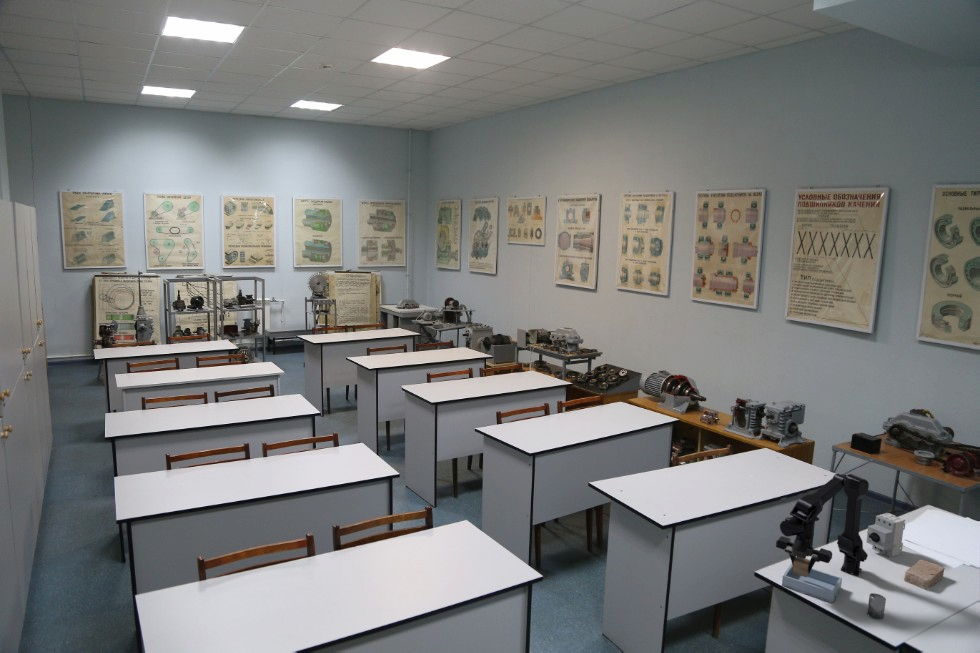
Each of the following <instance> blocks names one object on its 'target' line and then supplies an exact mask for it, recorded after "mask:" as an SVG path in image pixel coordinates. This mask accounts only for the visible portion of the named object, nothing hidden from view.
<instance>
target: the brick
mask: <svg viewBox="0 0 980 653" xmlns="http://www.w3.org/2000/svg"><path fill="white" fill-rule="evenodd" d="M944 574H945V567H943V566H941V565H939V564H937V563H933V562H930V561H927V560H924V559H919V560H917V563H915V564H914V565H912V566H910V567H908V569H906V570H905V572H904V578H903V581H904V582H905V583H907V584H910V585H913V586H915V587H917V588H920V589H922V590H928V589H930V588H931V587H932V586H934V585H935V584H936V583H937V582H939V581H940V580H941V579H942V578H944V577H943V576H944Z"/></svg>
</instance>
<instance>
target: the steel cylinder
mask: <svg viewBox="0 0 980 653" xmlns="http://www.w3.org/2000/svg"><path fill="white" fill-rule="evenodd" d="M868 596H869V597H868V604H867V611H866V614H867V616H868V615H869V617H870V618H871V619H873V620H879V621H882V620H884V619H885V618H884V617H885V611H886V610H885V609H886V604H887V603H886V602H887V599H886V597H885V596H884V595H881V594H879V593H875V592H874V593H873V592H871V593H870V594H869V595H868Z"/></svg>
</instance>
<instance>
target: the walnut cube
mask: <svg viewBox="0 0 980 653" xmlns="http://www.w3.org/2000/svg"><path fill="white" fill-rule="evenodd" d="M809 565H810V559H808V558H807V557H806V558H805V559H803V558H801V557H798V556H796V558H795V560H794V563H793V573H794V574H797V575H800V576H803V577H806V578H807V576H808V575H809V573H808V569H809Z"/></svg>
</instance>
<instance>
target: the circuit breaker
mask: <svg viewBox="0 0 980 653" xmlns="http://www.w3.org/2000/svg"><path fill="white" fill-rule="evenodd" d="M905 522H906V519H904V518H902V517H900V516H896V515H894V514H891V513H889V512H885V513H883V514H881V513H880V514H878V515H876V516H875V522H874V524H870V525H868V526H867V531H866V533H867V535H866V543H867V544H869V545H871V546H872V547H871V549H873V550H874V551H876V552H878V553H881V554H882V555H885V556H886V557H890V558H891V557H893V556H898V555H900V554H902V553H903V552H902V550H903V548H904V547H903V546H904V543H903V536H904V530H906V523H905Z"/></svg>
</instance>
